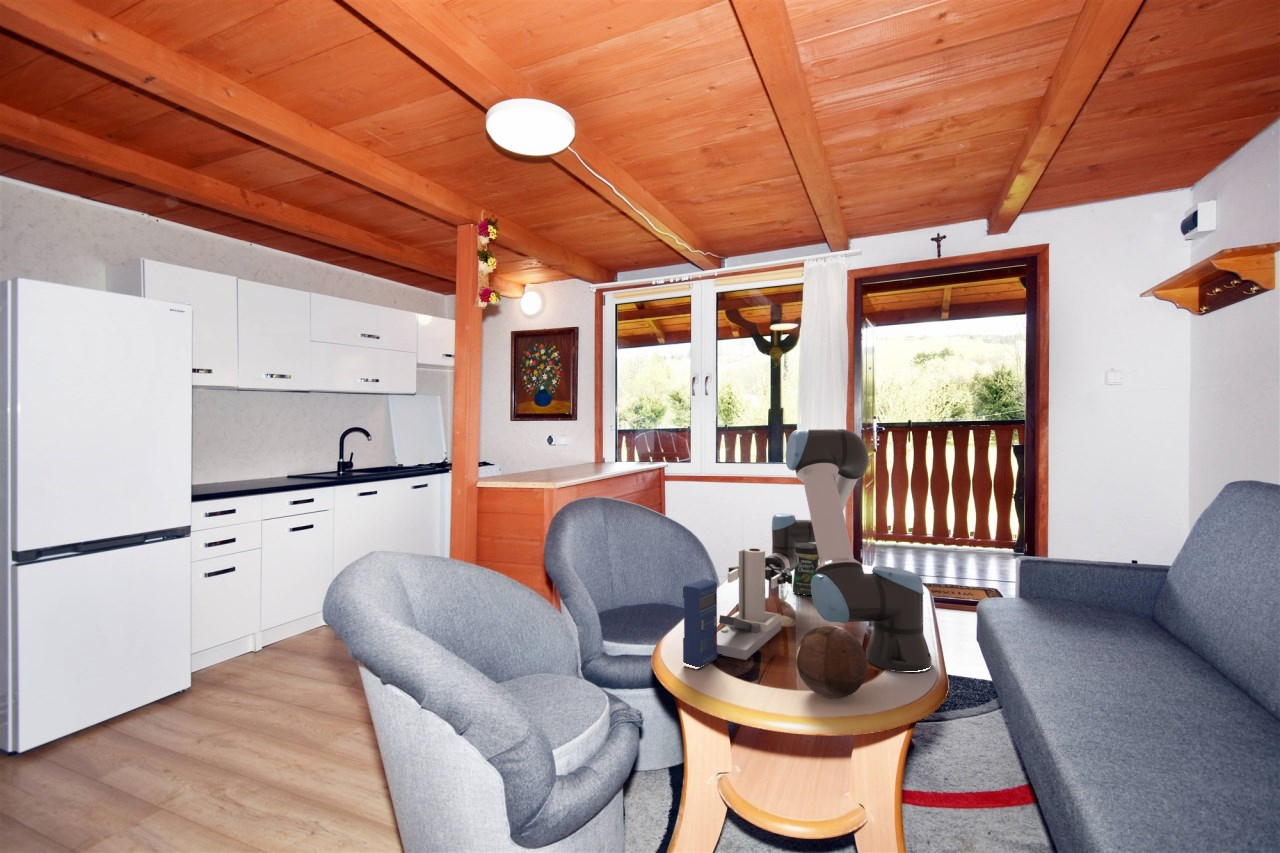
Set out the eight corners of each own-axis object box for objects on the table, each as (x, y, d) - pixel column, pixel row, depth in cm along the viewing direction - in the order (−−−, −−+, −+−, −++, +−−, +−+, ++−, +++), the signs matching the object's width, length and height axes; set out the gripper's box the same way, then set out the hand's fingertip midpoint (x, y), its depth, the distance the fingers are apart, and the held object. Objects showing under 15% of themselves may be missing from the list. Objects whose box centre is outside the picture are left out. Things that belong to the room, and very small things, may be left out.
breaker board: (742, 622, 182) (742, 608, 183) (781, 629, 176) (780, 614, 176) (703, 651, 158) (703, 634, 158) (746, 660, 152) (745, 642, 152)
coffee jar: (790, 594, 215) (790, 543, 216) (795, 589, 223) (794, 539, 223) (818, 597, 211) (818, 545, 212) (822, 592, 218) (821, 541, 219)
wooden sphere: (873, 690, 133) (872, 623, 134) (860, 717, 121) (859, 642, 121) (805, 676, 141) (805, 613, 141) (787, 700, 128) (786, 630, 128)
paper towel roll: (766, 620, 176) (766, 548, 177) (764, 626, 171) (763, 551, 171) (742, 618, 179) (741, 546, 179) (738, 624, 173) (738, 550, 173)
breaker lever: (738, 621, 170) (718, 614, 158) (754, 624, 168) (735, 617, 156) (737, 629, 169) (717, 622, 158) (753, 631, 167) (734, 625, 155)
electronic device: (699, 671, 145) (699, 588, 145) (681, 666, 148) (681, 585, 148) (718, 659, 152) (718, 581, 153) (701, 655, 155) (701, 578, 156)
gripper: (813, 583, 184) (792, 599, 165) (738, 574, 196) (711, 588, 178) (812, 559, 184) (792, 572, 165) (737, 551, 196) (710, 563, 178)
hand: (750, 580), depth 172 cm, fingers open, 12 cm apart
